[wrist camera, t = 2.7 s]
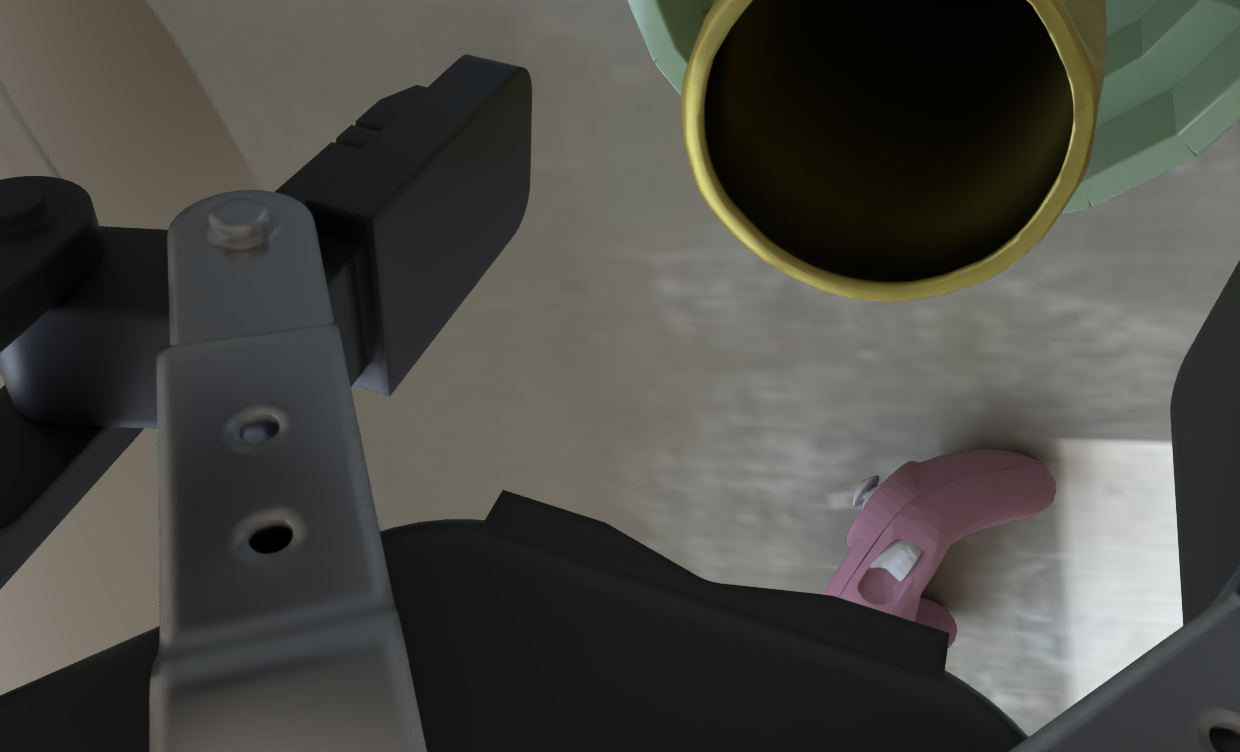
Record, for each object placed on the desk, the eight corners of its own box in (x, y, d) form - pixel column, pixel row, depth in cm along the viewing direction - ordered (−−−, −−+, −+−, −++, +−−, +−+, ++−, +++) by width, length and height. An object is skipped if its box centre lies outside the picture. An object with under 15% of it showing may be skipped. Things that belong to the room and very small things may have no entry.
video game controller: (959, 386, 36) (833, 482, 32) (1079, 471, 34) (961, 586, 30) (864, 560, 42) (750, 658, 38) (959, 640, 40) (850, 752, 36)
